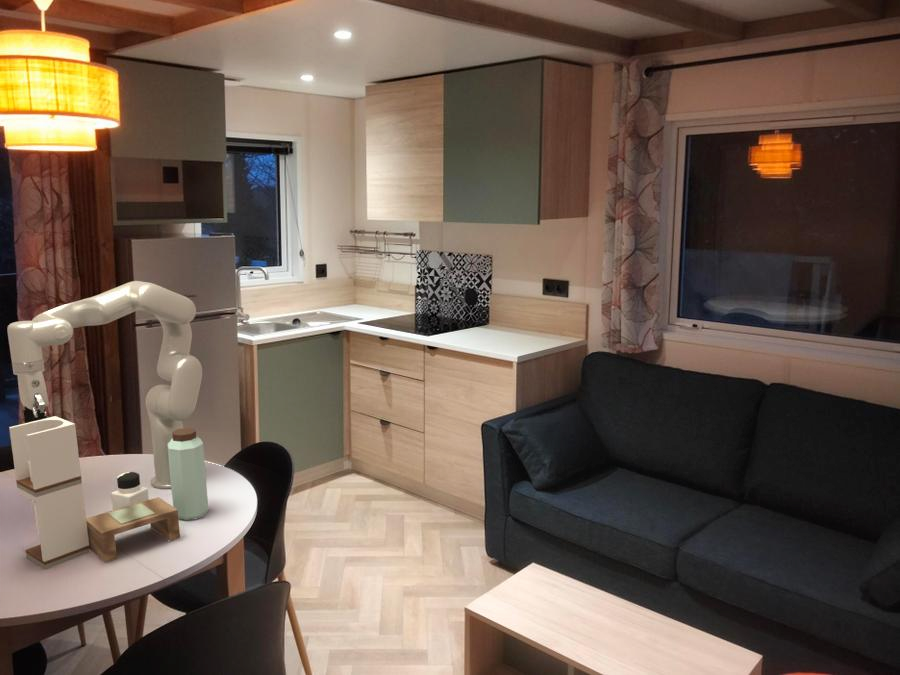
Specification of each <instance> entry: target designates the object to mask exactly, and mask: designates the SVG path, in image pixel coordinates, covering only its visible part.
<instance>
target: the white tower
mask: <svg viewBox="0 0 900 675" xmlns="http://www.w3.org/2000/svg"><path fill="white" fill-rule="evenodd" d="M8 429H9V437H10V442H11V443H10V444H11V445H10V446H11V451H12V459H13V465H14V467H13V468H14V472H15V473H14V474H15V480H16V488H17V493H18V494H20V495H22V496H24V497H25V498H27V499H30V500H31V501H33V508H34V517H35V524H36V529H37V530H38V535H39V542H40V544H38V545H34V546H32V547H29V548H26V549H25V556H26V558H27V557H28V558H27V559H29V560H31V561H32V562H33V561H34V562H33V563H35V564H36V565H38V566H40V568H42V569H44V570H48V569H50V568H53V567H55V566H58V565H61V564H63V563H67V562H69V561H71V560H74V559H76V558H79V557H82V556H84V555H86V554H89V553H91V550H90V549H89V540H88V531H87V523H86V518H87V517H86V516H87V515H86V507H85V506H86V505H85V497H84V491H83V490H84V489H83V481H82V471H81V465H80V455H79V447H78V439H77V428H76V423H74V422H71V421H69V420H66V419H64V418H61V417H59V416H56V415H54V416H50V417H47V418H46V419H42V420H37V421H33V422H29V423H25V422H24V423H21V424H17V425H13V426H8Z"/></svg>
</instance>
